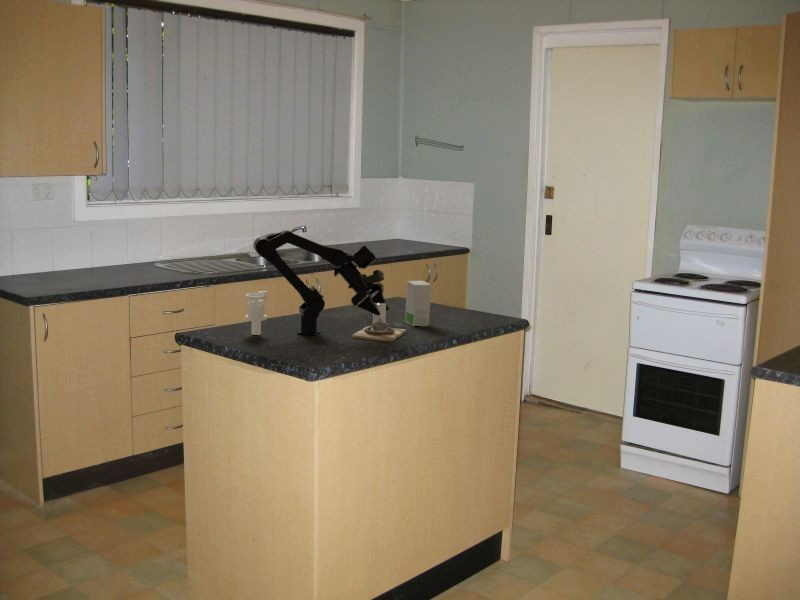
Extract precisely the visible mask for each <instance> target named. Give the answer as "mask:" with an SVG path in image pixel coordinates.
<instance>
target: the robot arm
mask: <svg viewBox="0 0 800 600" xmlns="http://www.w3.org/2000/svg"><path fill="white" fill-rule="evenodd" d="M287 244H290V245H292V246H295V247H296V248H300V249H302V250H305V251H307V252H309V253H311V254H314V255H317V256H319V257H320V258H322V259H323V260H325V261H326V262H328V263H330V264H331V265H332V266H334V268H333V271H334V272H333V276H334V277H335V278H337V277H339V276H341V277H342V279H344V281H345V282H346V283H347V285H348V286H347V287H348V289H349V290H350V289H352V290H353V291H354V292H355V294H354V295H353V296H352V297H351V301H350V302H351V304H352V305H353V306H354V307H357V308H359V309H362V310H365V311H368V312H369V313H371V314H372V315H373V314H375V315H377V316H379V315H380V312H379V310H378V309H377V307H376V306H375V304H374V303H377V302H381V303H386V312H388V311H389V310H390V307H389V306H388V304H387V301H386V299H385V297H384V290H385V288H384V287H385V285H384V284H383V283H382V281H384V280H385V277H384V275H385V273H384V272H383V271H382V270H379V269H375V270H373V272H372V274H369V276H367V274H366V273H363V274H362V273H361V271H359V270H361V269H363V270H365V269H366V268H368V267H369V266H370V265H371V264H372V263H374V262H375V261H376V260H377V256H375V254H374V253H373V252H372V251H371V250H370V249H369V248H368V247H367V246H366V245H365V244H362V245H360V247H359V248H358V249H357V250H356V251H354V252H353V253H350V252H345V251H344V250H342V249H340V248H339V247H337V246H332V245H331V246H330V245H326V244H320V243H319V242H315V241H313V240H311V239H308V238H306V237H303V236H302V235H299V234H296V233H294V232H291V231H290V230H288V229H284V230H282V231H279V232H277V233H274V234H271V235H268V236H266V237H265V236H259V237H257V238H256V239H255V240H254V242H253V250H255V252H256V253H257V254H258V255H259V256H260V257H262V258H263V259H265V260H266V261H267V262H269V263H270V264H271V265H272V266H273V267H275V269H276V270H277V271H278V272H279V273H280V274H281V276H282V277H284V278H285V280H286V281H287V282H288V283H289V284H290V285H291V286H292V287H293V289H294V290H296V292H297V293H298V294H299V296H300V299H301V300H302V301H303V303H302V304H301V305H300V306H299V307H298V311H299V313H300V314H301V315H300V330H299V331H297V332H296V335H304V334H305V336H316V335H317V334H319V333H321V332H322V330H320V329H319V330H318V318H319V316H320V313H321V312H322V311H323V310H324V309H325V306H326V305H325V304H326V301H325V299H324V298H325V296H324V295H323V294H321V292H319V291H318V289H317V288H316V287H315V286H314V285H312V286H311V287H310V286H307V284H305V283H304V282H303V280H302V279H301V278H300V277H299V275H297V273H296V272H294V270H292V268H291V267H290V266H289V264H287V263H286V262H285V261H284V259H282V257H281V255H280V254H279V252H278V249H279V248H281V247H282V246H284V245H287Z"/></svg>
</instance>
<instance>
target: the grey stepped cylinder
mask: <svg viewBox="0 0 800 600" xmlns="http://www.w3.org/2000/svg"><path fill="white" fill-rule="evenodd" d="M267 292H268V291H266V290H264V291H263V290H259V291H258V292H249V293H246V294H245V296H244V297H245V300H249V301H248V302H247V314H246V315H245V321H248V322H251V335H252V334H253V335H260V334H261V335H262V333H261V329H262V324H261V323H262V322H264V321H266V320H268V315H267V314H265V303H267V302H268V301H267V299H268V293H267ZM261 335H260V336H261Z"/></svg>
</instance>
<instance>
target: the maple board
mask: <svg viewBox="0 0 800 600" xmlns="http://www.w3.org/2000/svg"><path fill="white" fill-rule="evenodd" d="M371 328H373V325H367V326H366V327H363V328H362V329H360V330H359V331H357V332H354V333H353V334H352V335H351V339H357V338H358V339H359V340H368V341H369V340H370V341H377V340H378V341H377V342H379V341H380V342H388V343H392V342H394V341H395V340H397V339H398V338H399V337H401V336H403V335H404V334H406V331H407V329H406V328H405V329H404V328H394V327H393V328H392V327H389V326H386V329H388V332H373V331H370V329H371Z"/></svg>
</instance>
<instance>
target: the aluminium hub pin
mask: <svg viewBox="0 0 800 600" xmlns="http://www.w3.org/2000/svg"><path fill="white" fill-rule="evenodd" d="M386 303H387V302H386ZM386 303H381V302H377V303H374V304H375V306H376V307H377V309H378V310H379V312H380V315H379V316H377V315H375V314H373V313H372V326H373V328H371V329H370V331H373V332H388V329H386V327H387V325H386V323H387V322H386V320H387V311H386Z"/></svg>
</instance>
